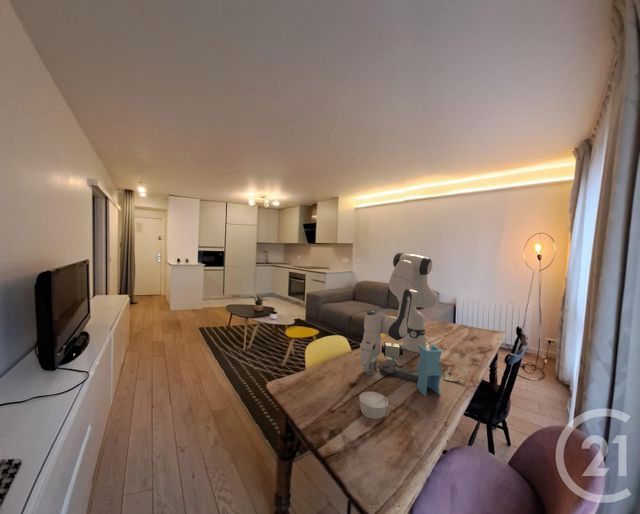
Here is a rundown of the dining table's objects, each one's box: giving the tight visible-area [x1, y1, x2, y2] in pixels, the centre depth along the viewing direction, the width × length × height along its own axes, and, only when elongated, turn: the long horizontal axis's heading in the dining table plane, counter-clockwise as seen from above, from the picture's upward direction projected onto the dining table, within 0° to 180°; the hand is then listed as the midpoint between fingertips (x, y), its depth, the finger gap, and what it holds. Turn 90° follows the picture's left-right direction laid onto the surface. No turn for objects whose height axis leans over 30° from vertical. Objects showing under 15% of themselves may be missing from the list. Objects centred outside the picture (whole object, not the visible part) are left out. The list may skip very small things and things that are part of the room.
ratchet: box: [380, 356, 418, 383], centre depth 136 cm, size 8×24×8 cm, turn 59°
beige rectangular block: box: [362, 357, 378, 376], centre depth 139 cm, size 5×5×7 cm
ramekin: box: [358, 391, 389, 420], centre depth 105 cm, size 11×11×5 cm
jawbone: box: [442, 366, 466, 385], centre depth 141 cm, size 9×20×2 cm, turn 173°
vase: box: [416, 344, 443, 397], centre depth 123 cm, size 8×8×20 cm
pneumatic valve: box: [380, 342, 404, 365], centre depth 151 cm, size 6×12×12 cm, turn 78°
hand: (370, 367), depth 139 cm, fingers open, 8 cm apart
